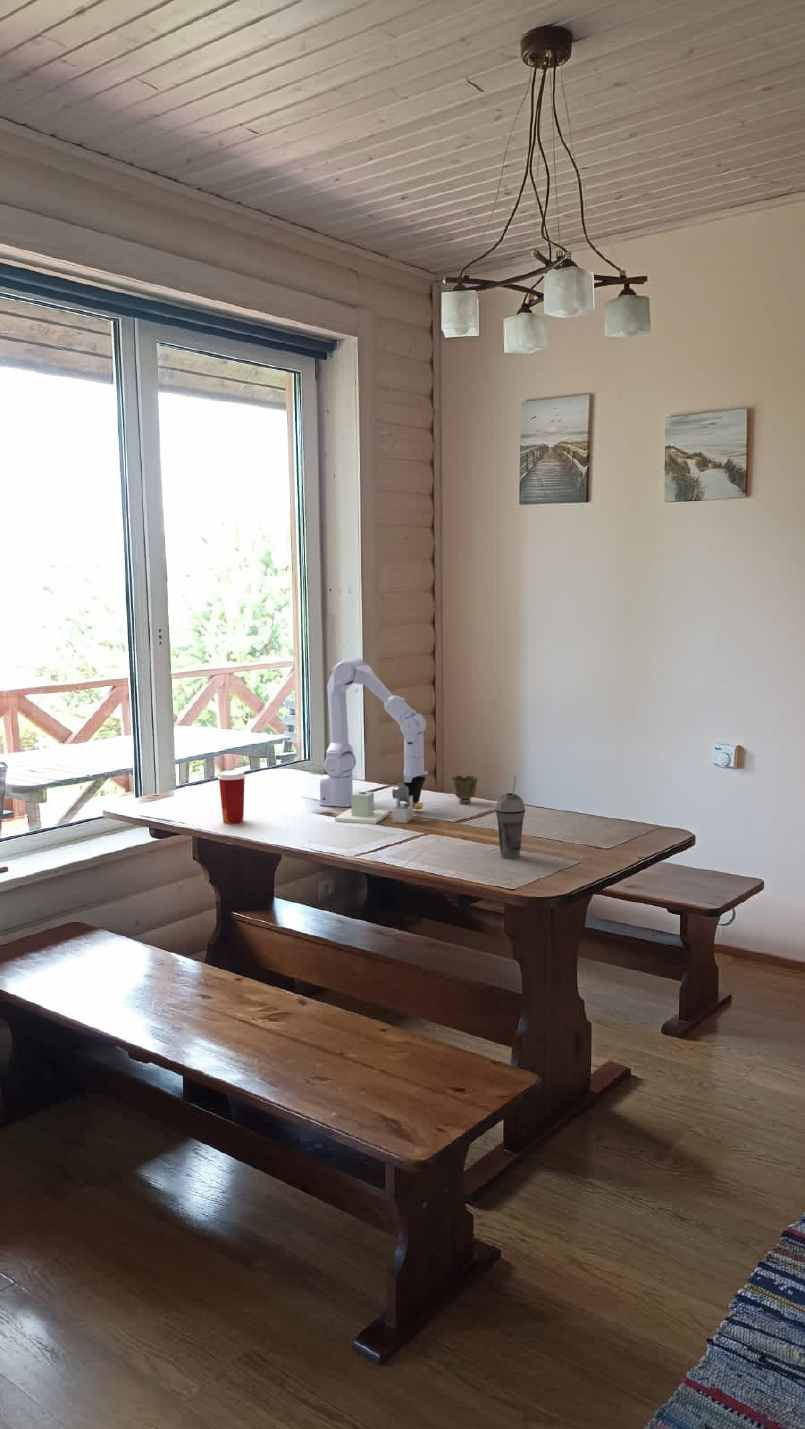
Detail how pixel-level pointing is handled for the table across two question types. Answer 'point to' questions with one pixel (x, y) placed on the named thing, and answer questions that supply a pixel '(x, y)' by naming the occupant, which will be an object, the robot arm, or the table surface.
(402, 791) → the press lever
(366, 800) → the block
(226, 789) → the paper cup
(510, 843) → the beverage cup
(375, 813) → the plate
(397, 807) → the white square planter
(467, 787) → the cup
